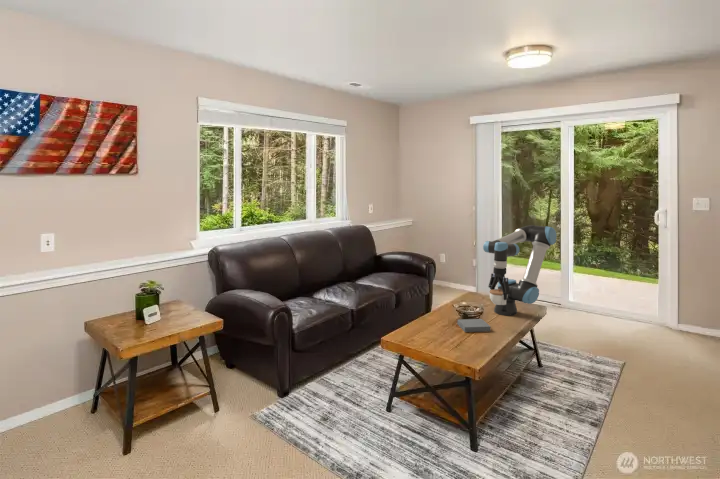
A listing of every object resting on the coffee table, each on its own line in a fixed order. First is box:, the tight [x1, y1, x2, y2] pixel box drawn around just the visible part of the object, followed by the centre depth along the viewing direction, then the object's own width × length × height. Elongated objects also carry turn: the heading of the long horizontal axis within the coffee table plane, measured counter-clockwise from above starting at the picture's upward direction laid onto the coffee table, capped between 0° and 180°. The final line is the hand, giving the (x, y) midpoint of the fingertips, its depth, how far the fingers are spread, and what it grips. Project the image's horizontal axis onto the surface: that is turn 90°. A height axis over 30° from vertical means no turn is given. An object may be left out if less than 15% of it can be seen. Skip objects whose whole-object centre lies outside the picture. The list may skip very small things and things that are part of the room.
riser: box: [457, 318, 491, 333], centre depth 259 cm, size 16×14×3 cm
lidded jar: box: [489, 288, 508, 305], centre depth 258 cm, size 11×11×9 cm
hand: (498, 302), depth 258 cm, fingers closed on lidded jar, 11 cm apart
